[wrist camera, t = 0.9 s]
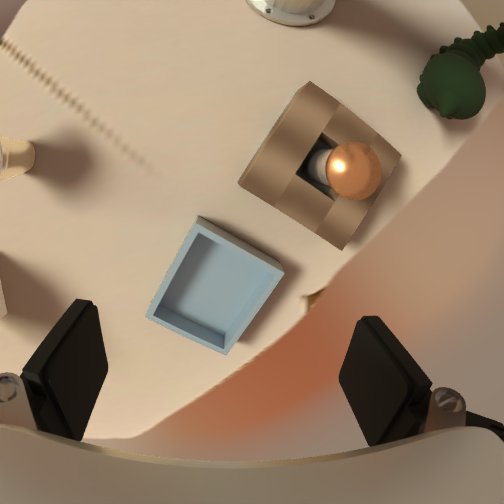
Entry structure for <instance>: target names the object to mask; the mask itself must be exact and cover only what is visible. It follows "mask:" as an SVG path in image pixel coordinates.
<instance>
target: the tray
mask: <svg viewBox="0 0 504 504" xmlns="http://www.w3.org/2000/svg"><path fill="white" fill-rule="evenodd" d="M284 274H285V272H284V270H283V269H282V267H281V265H280V263H279V261H277V260H275V259H274V258H272V257H270V256H268V255H267V254H265V253H263V252H261V251H260V250H258V249H256V248H254V247H253V246H251V245H249V244H247V243H246V242H244V241H242V240H240V239H239V238H237V237H235V236H233V235H232V234H230V233H228V232H226V231H225V230H223V229H221V228H219V227H218V226H216V225H214V224H212V223H211V222H209V221H207V220H205V219H203V218H202V217H200V216H198V217H197V219H196V221H195V222H194V224H193V226H192V228H191V229H190V231H189V233H188V235H187V237H186V238H185V240H184V242H183V244H182V245H181V247H180V249H179V251H178V253H177V255H176V256H175V258H174V260H173V262H172V264H171V266H170V267H169V269H168V271H167V273H166V275H165V277H164V279H163V281H162V282H161V284H160V286H159V288H158V290H157V292H156V294H155V296H154V298H153V300H152V302H151V304H150V306H149V309H148V311H147V313H146V316H145V317H146V318H148V319H150V320H152V321H154V322H156V323H158V324H160V325H162V326H164V327H166V328H168V329H170V330H172V331H174V332H176V333H178V334H180V335H182V336H184V337H186V338H188V339H190V340H193V341H195V342H197V343H199V344H201V345H203V346H206V347H208V348H210V349H212V350H215V351H217V352H219V353H222V354H224V355H227V354H228V352H229V351H230V350H231V348H232V347H233V346H234V344H235V343H236V341H237V340H238V339H239V337H240V336H241V335H242V333H243V332H244V330H245V329H246V328H247V326H248V325H249V323H250V322H251V321H252V319H253V318H254V316H255V315H256V314H257V312H258V311H259V309H260V308H261V307H262V305H263V304H264V302H265V301H266V299H267V298H268V297H269V295H270V294H271V292H272V291H273V289H274V288H275V287H276V285H277V284H278V282H279V281H280V279H281V278H282V276H283V275H284Z"/></svg>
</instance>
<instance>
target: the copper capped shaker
mask: <svg viewBox="0 0 504 504" xmlns="http://www.w3.org/2000/svg"><path fill="white" fill-rule="evenodd" d="M302 169H303V172H304V174H305V176H306V177H307V178H308V179H310V180H312V181H315V182H318V183H321V184H325V185H328V186H330V187H331V188H332V190H333V191H334V192H335V193H337V194H338V195H340V196H342V197H344V198H347V199H350V200H362V199H365V198H367V197H369V196H370V195H371V194H372V193H373V192H374V191H375V190H376V189H377V187H378V185H379V183H380V179H381V164H380V161H379V158H378V156H377V155H376V153H375V152H374V151H373V150H372V149H371V148H370V147H369V146H367V145H365V144H363V143H360V142H346V143H343V144H340V145H338V146H337V147H335V148H334V149H319V150H312V151H310V152H309V153H308V154H307V156H306V158H305V159H304V161H303V162H302Z"/></svg>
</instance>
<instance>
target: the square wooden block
mask: <svg viewBox="0 0 504 504" xmlns="http://www.w3.org/2000/svg"><path fill="white" fill-rule="evenodd" d="M346 142H360V143H363V144H365V145H367V146H369V147H370V148H371V149H372V150H373V151H374V152H375V153H376V155H377V156H378V158H379V161H380V164H381V179H380V183H379V185H378V187H377V189H376V190H375V191H374V192H373V193H372V194H371V195H370V196H369V197H367V198H365V199H362V200H350V199H347V198H344V197H342V196H340V195H338V194H337V193H335V192H334V191H333V190H332V188H331V187H330V186H328V185H325V184H321V183H318V182H315V181H312V180H310V179H308V178H307V177H306V176H305V174H304V172H303V169H302V162H303V161H304V159H305V158H306V156H307V154H308V153H309V152H310V151H312V150H319V149H334V148H335V147H337V146H338V145H340V144H343V143H346ZM401 156H402V155H401V154H400V153H399V152H398V151H397V150H396V149H395V148H393V147H392V146H391V145H390V144H389V143H388V142H387V141H386V140H385V139H384V138H382V137H381V136H380V135H379V134H378V133H377V132H376V131H374V130H373V129H372V128H371V127H370V126H369V125H367V124H366V123H365V122H364V121H363V120H361V119H360V118H359V117H358V116H356V115H355V114H354V113H353V112H351V111H350V110H349V109H348V108H346V107H345V106H344V105H342V104H341V103H340V102H338V101H337V100H336V99H334V98H333V97H332V96H330V95H329V94H328V93H326V92H325V91H324V90H322V89H321V88H319V87H318V86H316V85H315V84H314V83H312V82H311V81H309V82H308V83H306V84H305V85H304V86H303V87H301V88H300V89H299V90H298V91H297V92H296V94H295V95H294V97H293V98H292V100H291V101H290V103H289V104H288V105H287V107H286V108H285V110H284V111H283V113H282V114H281V116H280V117H279V119H278V120H277V122H276V123H275V125H274V126H273V128H272V129H271V131H270V132H269V134H268V135H267V137H266V138H265V140H264V141H263V143H262V145H261V146H260V148H259V149H258V151H257V152H256V154H255V155H254V157H253V159H252V160H251V162H250V163H249V165H248V166H247V168H246V170H245V171H244V173H243V174H242V176H241V177H240V179H239V181H238V184H239V185H240V186H241V187H242V188H244V189H245V190H247V191H249V192H250V193H252V194H254V195H255V196H257V197H259V198H260V199H262V200H264V201H265V202H267V203H268V204H270V205H272V206H273V207H275V208H276V209H278V210H280V211H281V212H283V213H284V214H286V215H288V216H289V217H291V218H292V219H294V220H296V221H297V222H299V223H300V224H302V225H303V226H305V227H306V228H308V229H310V230H311V231H313V232H314V233H316V234H317V235H319V236H320V237H322V238H323V239H325V240H326V241H328V242H329V243H331V244H332V245H334V246H335V247H337V248H338V249H340V250H341V251H342V250H343V249H344V247H345V246H346V244H347V243H348V241H349V240H350V238H351V237H352V235H353V234H354V232H355V231H356V229H357V228H358V226H359V224H360V223H361V221H362V220H363V218H364V217H365V215H366V214H367V212H368V210H369V209H370V207H371V206H372V204H373V202H374V201H375V199H376V198H377V196H378V194H379V193H380V191H381V189H382V188H383V186H384V185H385V183H386V181H387V180H388V178H389V176H390V174H391V173H392V171H393V169H394V168H395V166H396V164H397V163H398V161H399V159H400V157H401Z"/></svg>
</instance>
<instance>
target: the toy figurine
mask: <svg viewBox="0 0 504 504" xmlns="http://www.w3.org/2000/svg"><path fill="white" fill-rule="evenodd" d="M440 53H441V54H439V55H432V56H431V57H430V61H429V62H428V63H427V65H426V66H425V68H424V71H423V74H422V75H420V82H421V83H420V84H419V85H418V87H417V93H418V95H419V97H420V98H421V100H422V101H423V102H424V104H425V105H426V106H428V107H429V108H436V109H437V110H438V111H439V112H440V115H441V116H442V117H446V118H447V119H468V118H471V117H473V116H475V115H476V114H477V113H478V112H479V111H480V110H481V108H482V107H483V104H484V102H485V96H486V88H485V84H484V80H483V78H482V76H481V74H480V72H479V71H480V67H481V66H482V65H483V64H484V62H485V59H491V58H493V57H494V56H495V54H496V53H497V54H500V53H504V23H503V22H502V23H500V27H499V28H498V29H497V30H495V29H494V28H493V27H492V26H491V25H488V26H487V31H486V32H485V33H481V32H479V31H475V32H474V35H473V36H472V38H471V39H461V38H455V39H454V44H452V45H450V46H449V47H448V46H441V48H440Z"/></svg>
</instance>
